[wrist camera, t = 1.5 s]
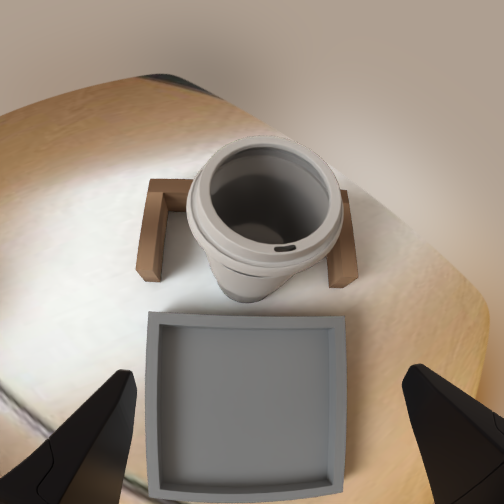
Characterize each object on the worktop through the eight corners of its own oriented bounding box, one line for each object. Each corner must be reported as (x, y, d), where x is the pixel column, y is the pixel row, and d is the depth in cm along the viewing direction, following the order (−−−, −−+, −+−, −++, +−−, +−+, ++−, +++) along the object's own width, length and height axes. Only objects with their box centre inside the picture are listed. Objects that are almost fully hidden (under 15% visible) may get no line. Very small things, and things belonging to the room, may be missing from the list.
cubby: (342, 287, 24) (358, 277, 21) (145, 281, 22) (135, 269, 20) (334, 207, 26) (346, 190, 24) (156, 198, 25) (150, 178, 22)
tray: (333, 483, 18) (342, 492, 16) (154, 487, 17) (149, 496, 15) (334, 320, 23) (344, 315, 21) (154, 316, 22) (148, 311, 20)
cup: (204, 322, 22) (190, 277, 11) (195, 238, 24) (180, 133, 13) (299, 309, 23) (372, 254, 12) (283, 228, 25) (329, 128, 14)
